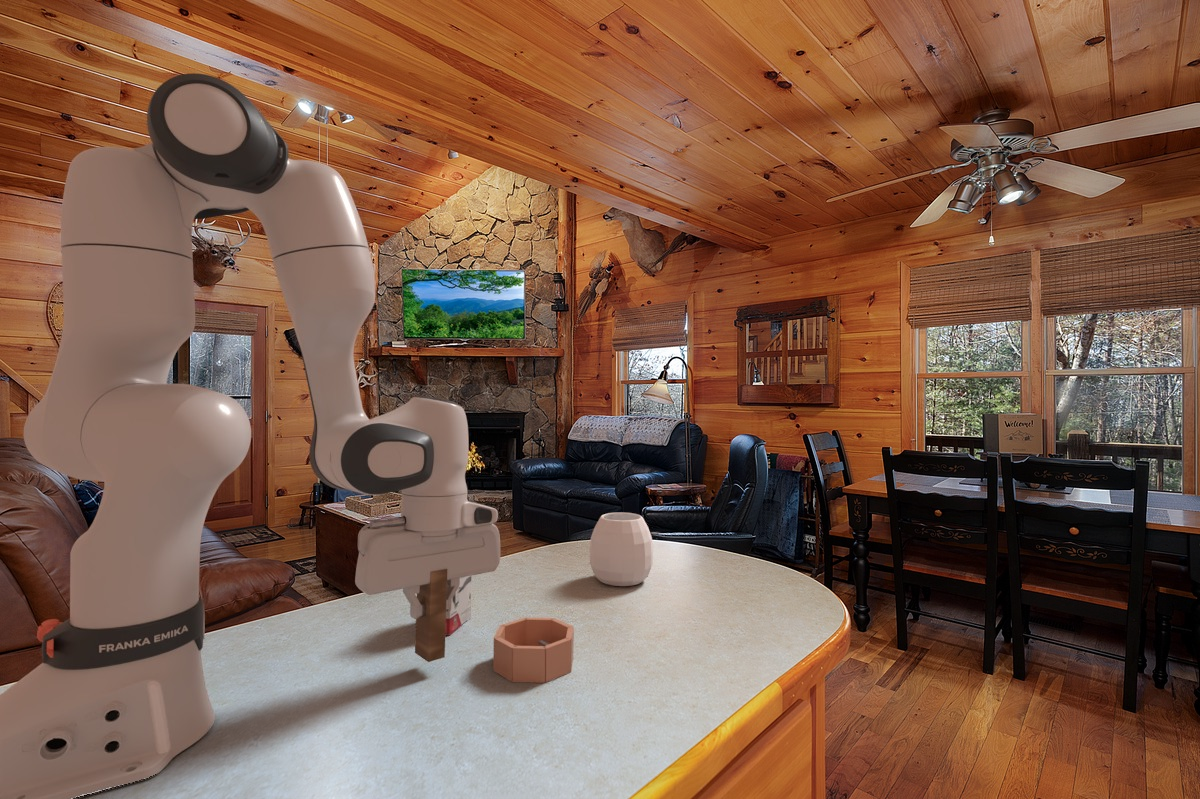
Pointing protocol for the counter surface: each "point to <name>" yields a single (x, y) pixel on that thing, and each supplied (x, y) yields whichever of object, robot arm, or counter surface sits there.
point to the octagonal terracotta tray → (533, 649)
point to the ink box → (459, 606)
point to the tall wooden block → (432, 618)
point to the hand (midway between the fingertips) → (431, 613)
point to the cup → (621, 549)
